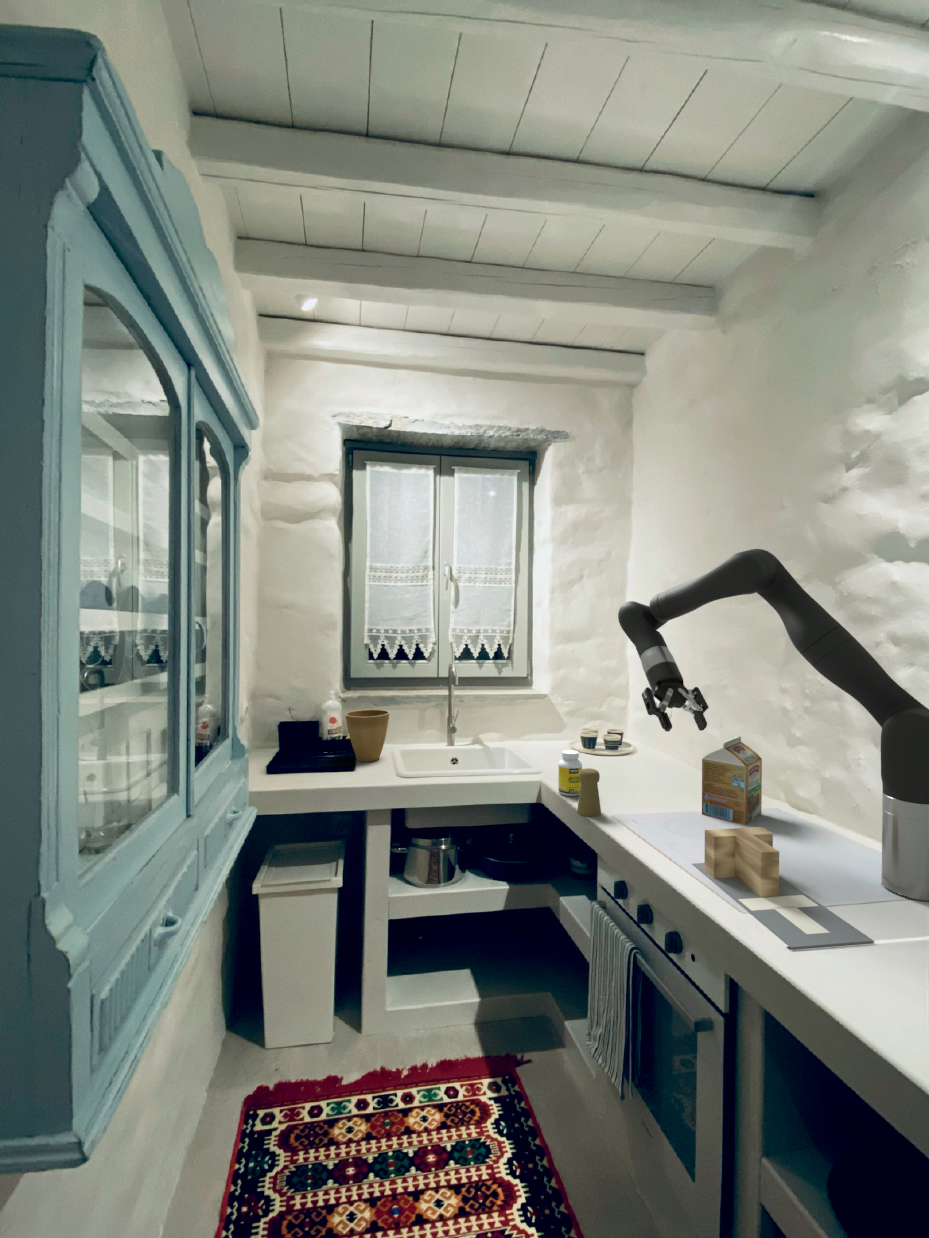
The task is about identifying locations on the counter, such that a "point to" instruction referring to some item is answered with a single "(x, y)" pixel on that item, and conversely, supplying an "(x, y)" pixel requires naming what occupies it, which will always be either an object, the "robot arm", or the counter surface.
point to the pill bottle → (569, 773)
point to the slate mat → (792, 915)
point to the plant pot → (367, 732)
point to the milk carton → (732, 783)
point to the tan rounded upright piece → (589, 793)
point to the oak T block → (744, 858)
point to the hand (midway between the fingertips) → (686, 729)
